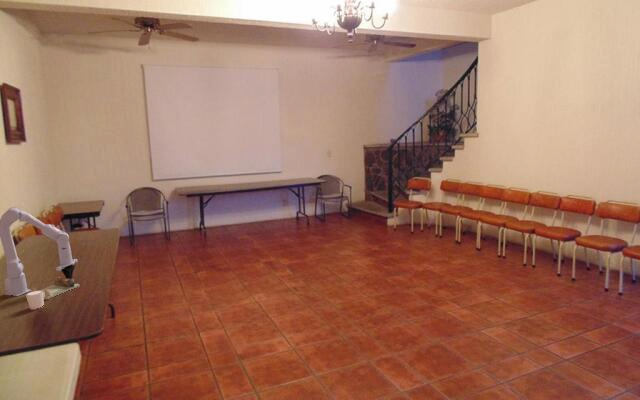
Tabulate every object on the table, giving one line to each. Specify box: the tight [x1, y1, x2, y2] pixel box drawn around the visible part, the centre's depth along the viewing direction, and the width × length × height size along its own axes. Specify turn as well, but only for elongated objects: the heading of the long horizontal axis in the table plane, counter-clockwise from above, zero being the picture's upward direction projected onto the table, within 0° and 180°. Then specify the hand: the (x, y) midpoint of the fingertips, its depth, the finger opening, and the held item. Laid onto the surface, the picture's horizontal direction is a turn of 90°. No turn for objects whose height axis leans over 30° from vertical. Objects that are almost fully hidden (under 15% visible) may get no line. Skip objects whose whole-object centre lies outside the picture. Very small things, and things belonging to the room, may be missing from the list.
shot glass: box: [25, 289, 45, 310], centre depth 207 cm, size 7×7×7 cm
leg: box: [53, 277, 76, 287], centre depth 231 cm, size 12×3×3 cm, turn 68°
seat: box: [30, 276, 81, 300], centre depth 226 cm, size 14×18×4 cm
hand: (69, 279), depth 238 cm, fingers closed
